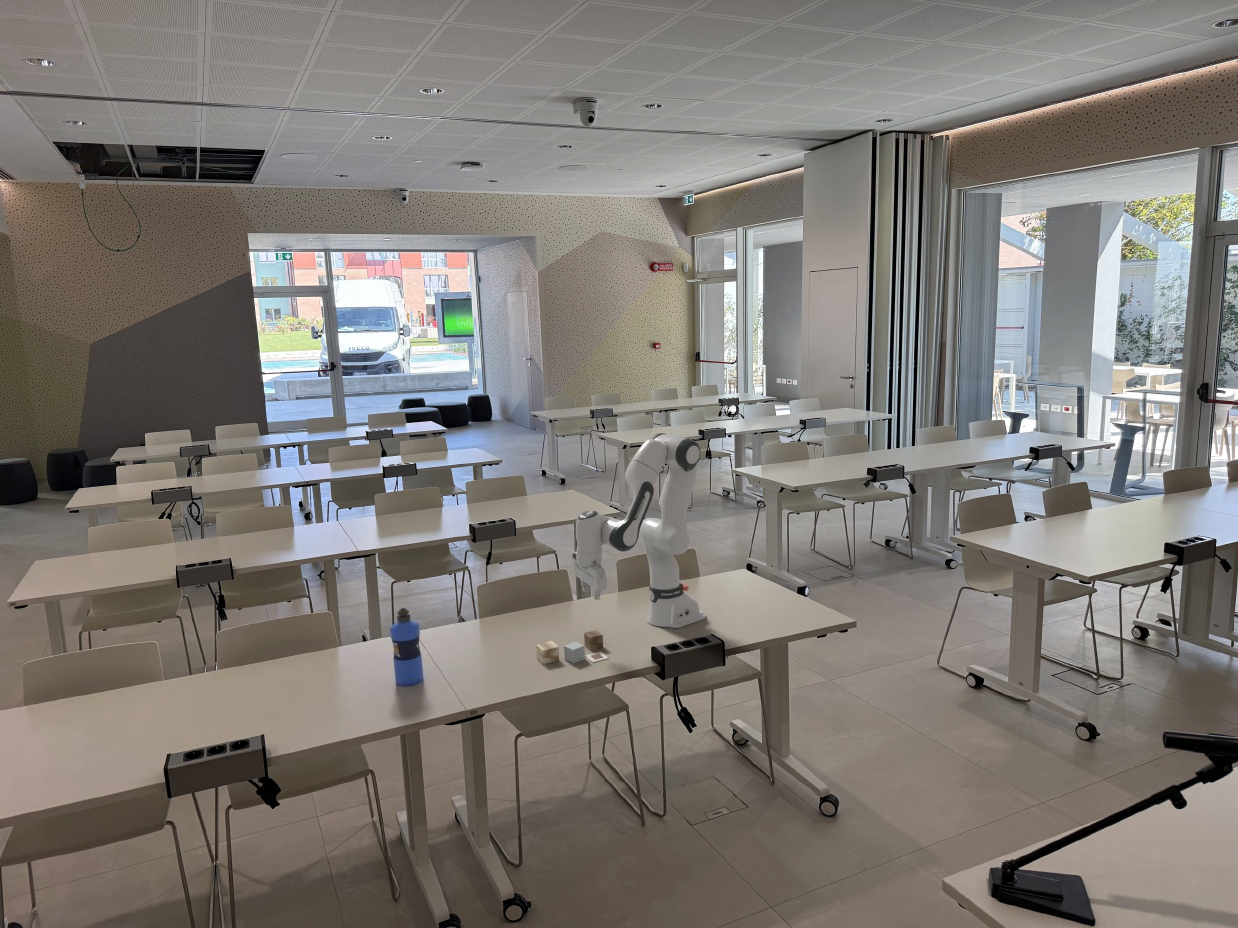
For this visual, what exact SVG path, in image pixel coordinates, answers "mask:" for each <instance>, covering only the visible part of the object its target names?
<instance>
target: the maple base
mask: <svg viewBox="0 0 1238 928" xmlns="http://www.w3.org/2000/svg"><path fill="white" fill-rule="evenodd" d="M535 647H536V648H535V650H536V658H537V660H538V661H540V662H541V664H543V665H544V664H548V663H552V662H557V661H560V651H559V650H560V648H559V646H558V645H557V644H556V643H555V642H554V641H553V640H550V641H545V642H542V643H538V644H536V645H535Z"/></svg>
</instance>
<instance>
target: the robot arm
mask: <svg viewBox="0 0 1238 928" xmlns="http://www.w3.org/2000/svg"><path fill="white" fill-rule="evenodd" d="M700 458H701V447H700V445H699V444H698V442H696V441H695V440H693V439H691V438H687V437H684V436H681V435H677V434H669V433H664V432H660V433H656V434H653V436H651V437H650V438H649V439H647V440H646V441H644V443H642V444H641V446H640V447H639V448H638V450H637V451H636V452H635V454H634V455H633V457H632V458H631V461H630V462H629V464H628V466H627V468H626V470H625V474H624V479H625V482H626V485H627V486H628V487H629V489H630V490H631V491H632V493H633V498H632V499H633V500H632V501H631V505H630V507H629V509H628V511H627V513H626V516H625V518H624V519H622V520H621V519H618V518H615V517H613V516H607V515H603V514H602V513H599V512H598V511H597V510H596V511H595V510H586V511H583V512H581V513H580V514H579V515H578V516H577V518H576V522H575V540H576V542H577V545H576V551H572V553H571V557H572V559H573V570H574V575H575V577H577V578H578V579H579V580H580V583H581V587H582V589H581V590H582V592H584V593H587V592H589V591H590V590H589V586H590V587H591V588H593V590H594V591H593V592H594V593H593V594H592V595H593V596H592V597H593V599H594V600H595V601H598V600H600V599H601V596H600V595H601V593H602V591H605V590H606V589H607V587H608V580H607V574H606V570H605V568H604V567H603V566H602V563H603V549H602V548H603V545H607V546H609V547H612V548H614V549H616V550H617V551H619V552H623V553H624V552H628V551H630V550H631V549H633V548H634V547H635V546H636V544H637V543H638V540H639V539H640V540H641V543H642V544H643V546H644V547H643V548H644V550H645V553H646V558H647V561H648V567H649V568H648V569H649V582H650V583H649V585H648V589H649V590H648V591H649V602H650V603H649V609H648V610H649V611H648V616H647V618H646V619H647V620H646V621H647V623H648V624H649V625H652V626H656V627H661V628H672V629H679V628H681V627H684V626H685V627H686V626H688V625H691V624H694V623H696V622H700V621H702V620H705V619H706V617H707V616H706V614H705V612H704V611H702V609H700V606H699V603H698V601H697V600H696V599H695V598H694V597H692V596H691V595H689V594H688V593H686V592H687V591H689V586H688V585H686V584H683V583H681V582H680V565H679V563H678V560H677V559H676V558H675V556H676V555H677V556H679V555H683V554H685V553H686V552H687V550H688V549H689V547H690V544H691V537H690V533H689V532H688V527H687V515H688V509H689V504H690V500H691V498H692V494H693V491H694V488H695V484H696V478H697V473H698V466H697V464H698V463H699V460H700ZM665 464H666V465H668V468H669V470H668V472H667V475H666V477H665V480H664V483H663V486H662V489H661V493H660V496H659V499H658V504H659V507H660V511H661V519H660V518H657V517H647V518H646V515H647V512H648V510H649V507H650V505H651V502H652V500H653V497H654V493H655V488H654V487H655V482H656V480H657V478H658V477H659V475H660V473H661V470H662V468H663V466H664V465H665Z"/></svg>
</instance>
